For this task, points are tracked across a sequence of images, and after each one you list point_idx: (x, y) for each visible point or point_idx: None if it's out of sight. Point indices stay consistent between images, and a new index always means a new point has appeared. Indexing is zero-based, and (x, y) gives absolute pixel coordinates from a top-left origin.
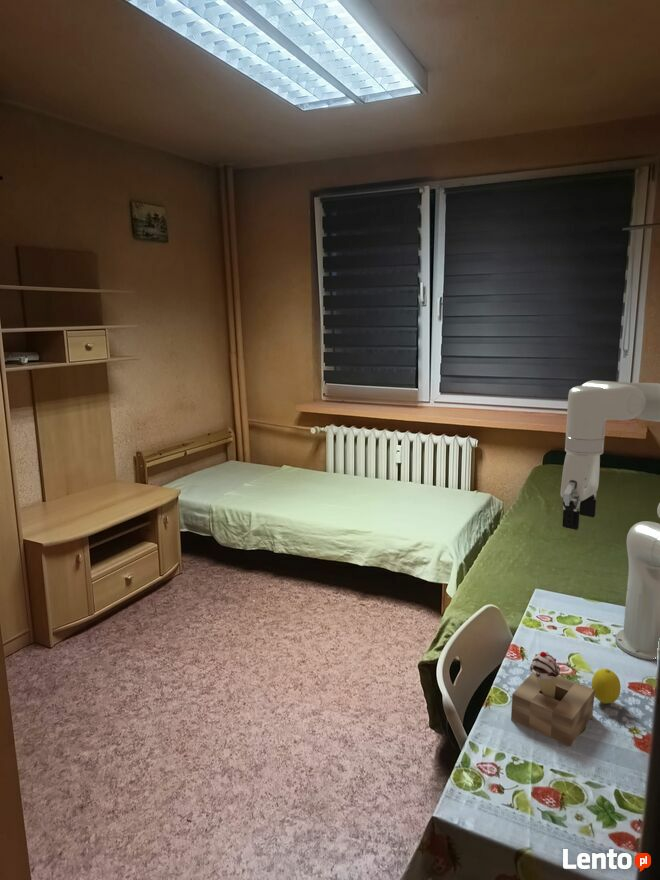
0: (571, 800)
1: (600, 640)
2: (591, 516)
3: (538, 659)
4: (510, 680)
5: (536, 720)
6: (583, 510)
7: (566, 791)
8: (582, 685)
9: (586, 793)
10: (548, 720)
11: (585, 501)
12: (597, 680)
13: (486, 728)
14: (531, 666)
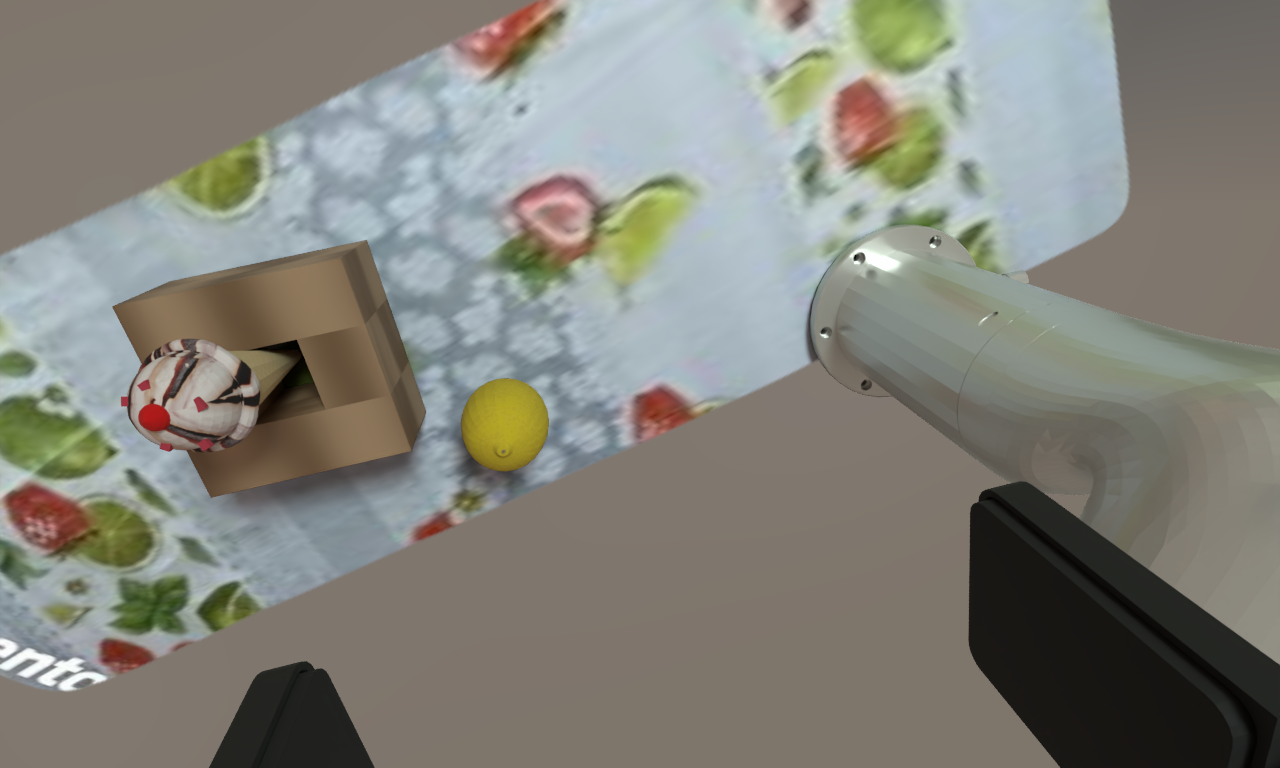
0: (99, 553)
1: (832, 198)
2: (975, 638)
3: (130, 409)
4: (337, 136)
5: None
6: (1022, 592)
7: (110, 532)
8: (394, 418)
9: (155, 558)
10: None
11: (1174, 756)
12: (465, 428)
13: (55, 258)
14: (154, 356)
